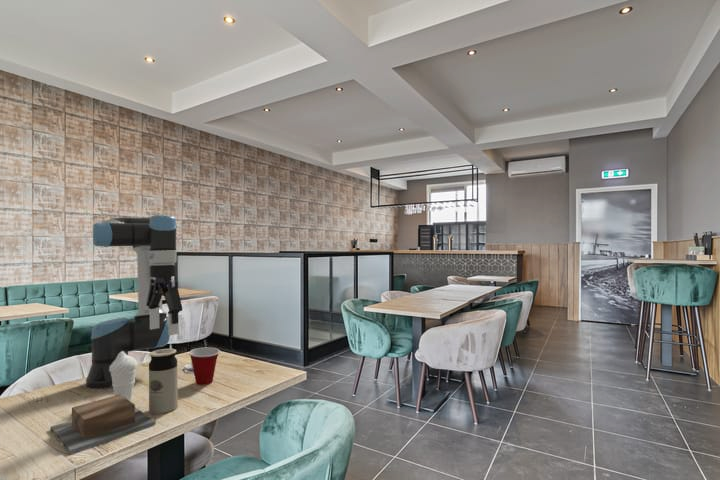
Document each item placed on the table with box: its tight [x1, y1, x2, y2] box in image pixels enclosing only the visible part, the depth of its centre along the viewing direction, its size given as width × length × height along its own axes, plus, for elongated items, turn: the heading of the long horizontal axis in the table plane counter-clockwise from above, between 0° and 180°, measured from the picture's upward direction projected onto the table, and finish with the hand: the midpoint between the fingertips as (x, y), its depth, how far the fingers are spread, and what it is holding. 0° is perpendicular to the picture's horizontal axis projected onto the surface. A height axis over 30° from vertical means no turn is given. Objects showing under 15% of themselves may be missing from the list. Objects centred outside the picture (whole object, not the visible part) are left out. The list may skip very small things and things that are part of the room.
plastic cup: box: [189, 347, 221, 386], centre depth 142 cm, size 11×11×12 cm
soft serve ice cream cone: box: [109, 351, 139, 401], centre depth 128 cm, size 8×8×16 cm
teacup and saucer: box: [183, 360, 194, 374], centre depth 158 cm, size 9×8×4 cm
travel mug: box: [148, 348, 179, 415], centre depth 119 cm, size 8×8×18 cm
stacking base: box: [49, 394, 157, 455], centre depth 107 cm, size 20×20×6 cm
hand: (163, 331), depth 120 cm, fingers open, 13 cm apart
